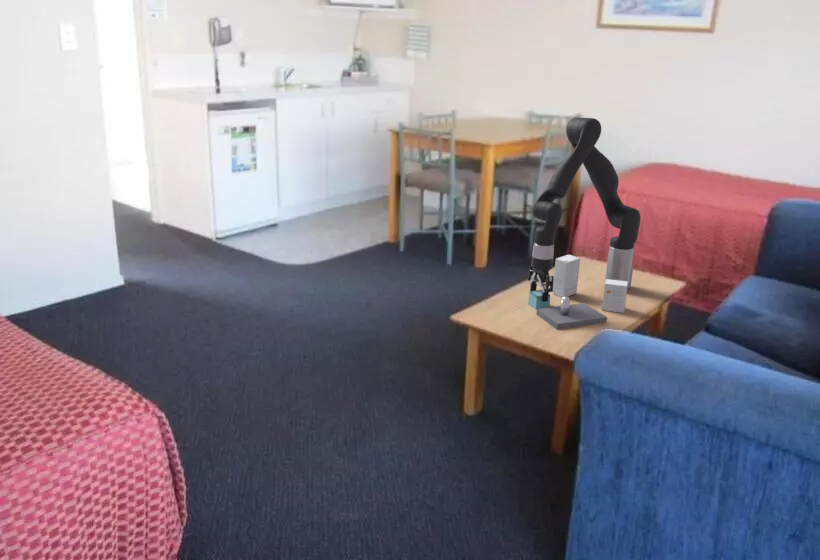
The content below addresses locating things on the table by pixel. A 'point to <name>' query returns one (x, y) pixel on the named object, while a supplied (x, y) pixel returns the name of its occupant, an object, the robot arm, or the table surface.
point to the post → (565, 305)
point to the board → (571, 316)
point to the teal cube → (538, 300)
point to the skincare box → (566, 275)
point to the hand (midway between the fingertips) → (538, 297)
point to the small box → (614, 295)
